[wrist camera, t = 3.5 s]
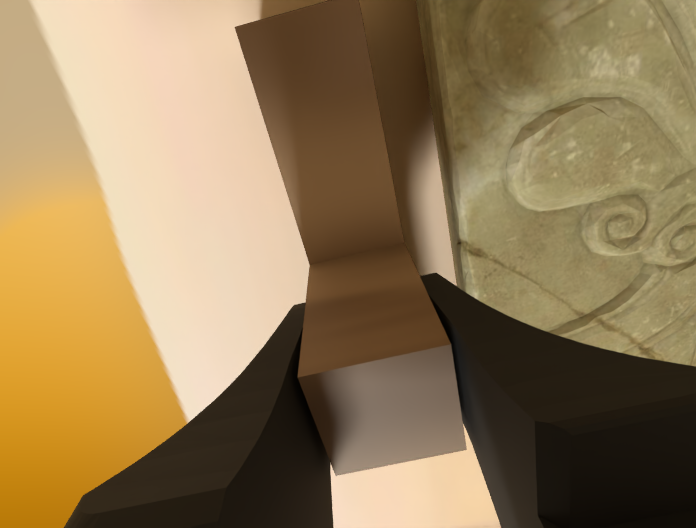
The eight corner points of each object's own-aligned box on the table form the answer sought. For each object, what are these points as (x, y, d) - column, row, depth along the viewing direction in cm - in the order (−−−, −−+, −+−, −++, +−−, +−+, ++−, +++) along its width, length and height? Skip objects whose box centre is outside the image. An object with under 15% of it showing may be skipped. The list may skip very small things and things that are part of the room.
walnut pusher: (426, 394, 18) (488, 595, 11) (366, 407, 19) (388, 612, 11) (351, 12, 12) (386, -99, 4) (256, 39, 12) (140, -27, 5)
